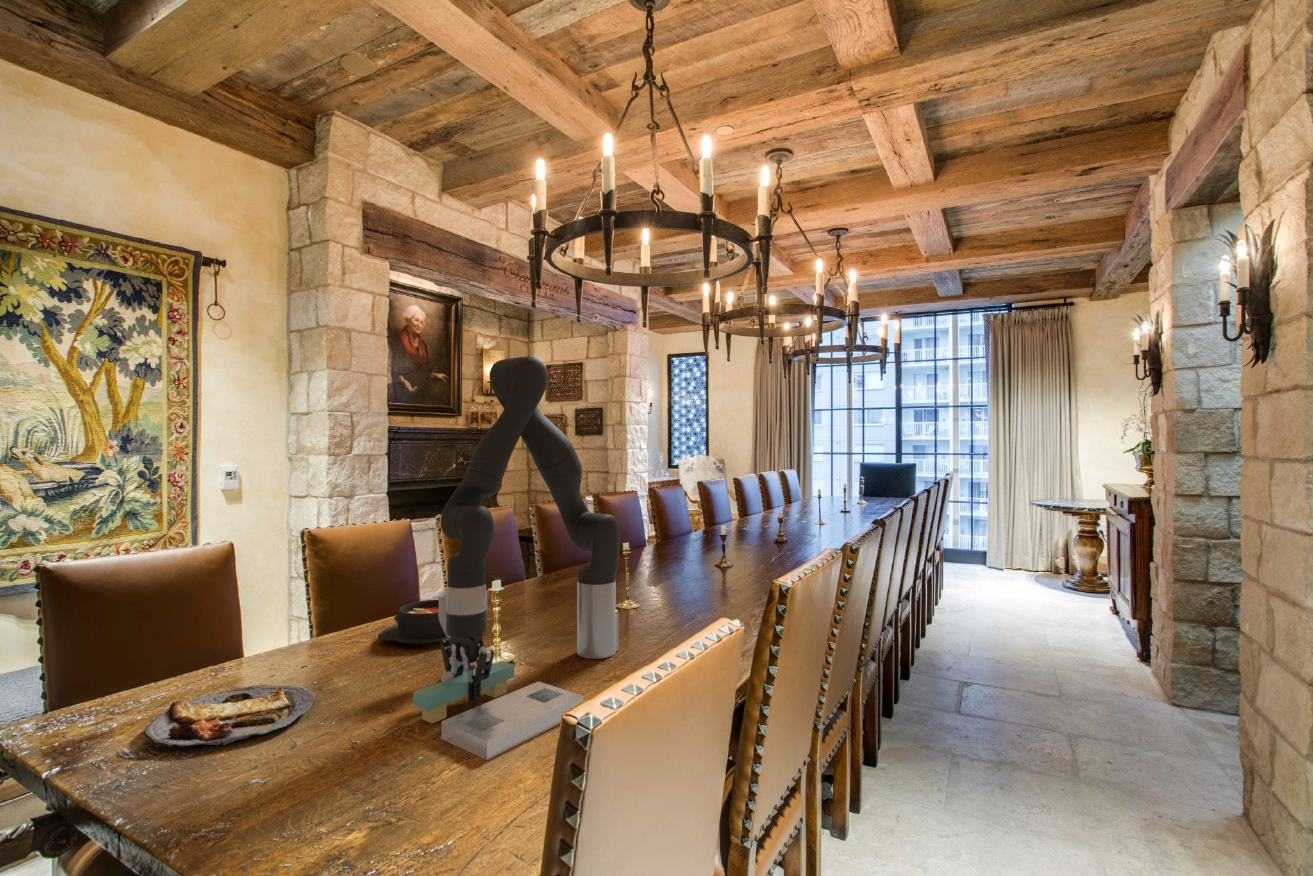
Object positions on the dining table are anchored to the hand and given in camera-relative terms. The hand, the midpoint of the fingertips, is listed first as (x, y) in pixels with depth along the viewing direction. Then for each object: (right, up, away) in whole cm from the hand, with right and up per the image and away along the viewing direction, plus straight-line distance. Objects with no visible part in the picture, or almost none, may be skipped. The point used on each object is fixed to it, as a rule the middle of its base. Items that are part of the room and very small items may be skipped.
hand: (466, 697), depth 119 cm
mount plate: (+11, -1, -8) cm, 14 cm away
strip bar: (0, -1, 0) cm, 1 cm away
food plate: (-40, -2, -7) cm, 40 cm away
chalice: (-7, -2, +14) cm, 16 cm away
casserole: (-22, -2, +41) cm, 47 cm away
